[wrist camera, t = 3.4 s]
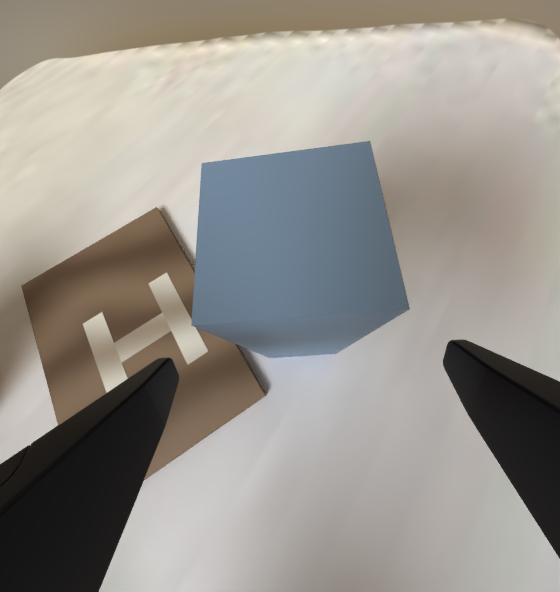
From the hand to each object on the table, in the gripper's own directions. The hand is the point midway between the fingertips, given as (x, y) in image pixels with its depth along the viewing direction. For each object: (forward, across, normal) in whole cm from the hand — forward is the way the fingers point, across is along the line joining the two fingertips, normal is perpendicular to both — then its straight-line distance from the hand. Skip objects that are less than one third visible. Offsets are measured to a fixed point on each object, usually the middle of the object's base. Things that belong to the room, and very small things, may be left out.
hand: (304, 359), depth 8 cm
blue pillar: (+10, 0, +5) cm, 11 cm away
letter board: (+10, +14, +5) cm, 18 cm away
